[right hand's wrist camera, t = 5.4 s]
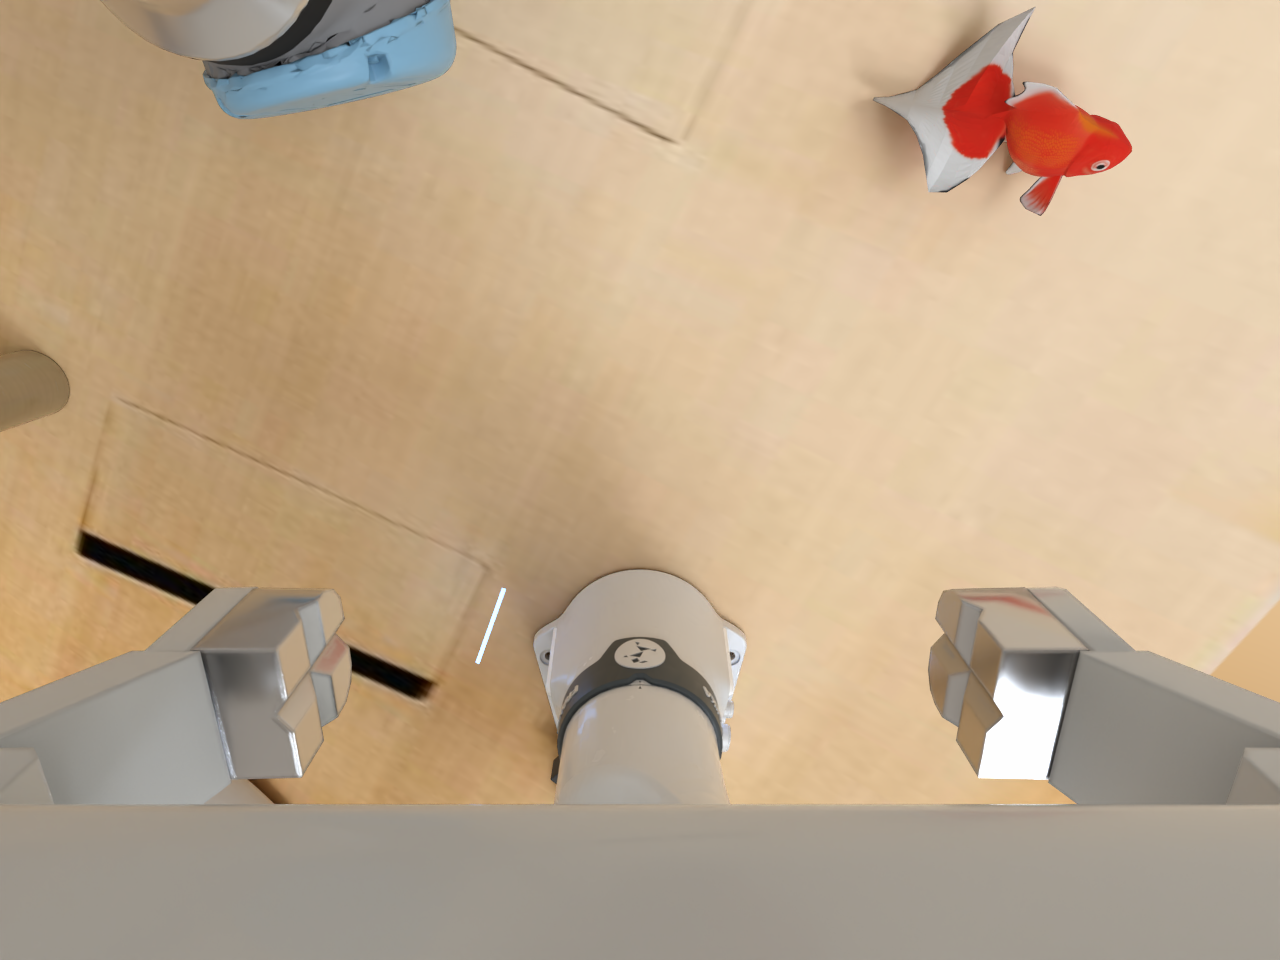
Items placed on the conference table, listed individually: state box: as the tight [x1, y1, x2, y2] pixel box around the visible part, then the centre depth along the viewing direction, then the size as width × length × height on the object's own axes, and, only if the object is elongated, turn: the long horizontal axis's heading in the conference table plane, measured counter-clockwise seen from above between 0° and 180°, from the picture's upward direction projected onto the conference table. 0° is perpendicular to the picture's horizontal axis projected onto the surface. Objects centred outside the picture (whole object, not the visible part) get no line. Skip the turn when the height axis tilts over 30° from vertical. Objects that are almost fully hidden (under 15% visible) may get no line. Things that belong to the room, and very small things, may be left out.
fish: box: [873, 7, 1132, 216], centre depth 48 cm, size 11×16×10 cm
